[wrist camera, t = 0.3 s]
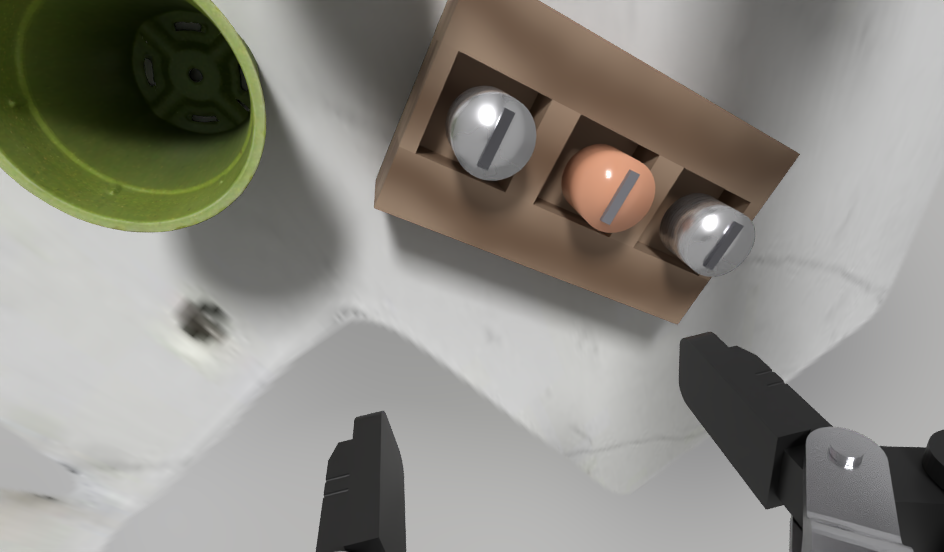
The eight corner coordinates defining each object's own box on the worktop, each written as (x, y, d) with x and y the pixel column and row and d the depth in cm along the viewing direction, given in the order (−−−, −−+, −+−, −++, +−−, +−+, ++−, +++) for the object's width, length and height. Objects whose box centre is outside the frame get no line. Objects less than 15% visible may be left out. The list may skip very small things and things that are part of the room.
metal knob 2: (684, 182, 33) (719, 202, 29) (733, 207, 34) (772, 228, 31) (647, 240, 34) (676, 265, 31) (695, 261, 36) (728, 287, 32)
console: (458, -28, 30) (473, -38, 25) (742, 135, 38) (800, 154, 33) (375, 179, 35) (374, 207, 30) (641, 287, 43) (677, 324, 38)
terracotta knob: (584, 131, 30) (609, 146, 27) (641, 161, 31) (672, 178, 28) (548, 196, 32) (568, 218, 28) (604, 221, 33) (630, 245, 30)
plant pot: (181, 199, 34) (97, 273, 24) (42, 18, 28) (-142, 17, 18) (337, 124, 33) (316, 168, 23) (227, -76, 28) (138, -130, 18)
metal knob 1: (465, 71, 28) (476, 79, 24) (533, 106, 29) (553, 117, 25) (433, 145, 29) (439, 162, 26) (499, 174, 30) (513, 194, 27)
